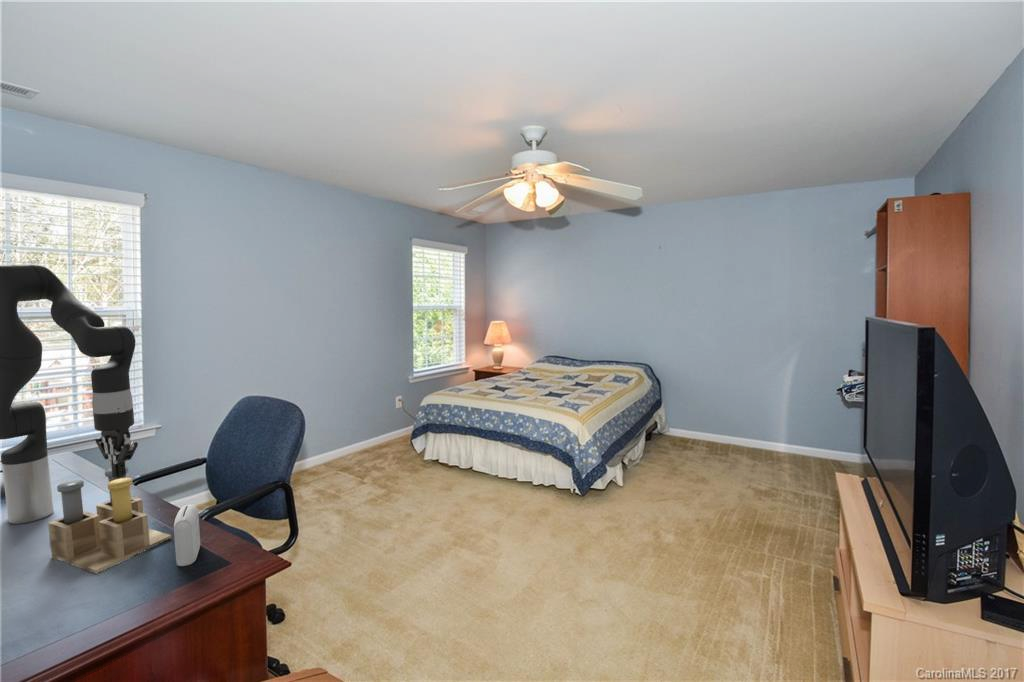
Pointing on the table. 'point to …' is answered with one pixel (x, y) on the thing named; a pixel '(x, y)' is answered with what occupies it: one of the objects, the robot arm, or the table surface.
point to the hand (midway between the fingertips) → (119, 476)
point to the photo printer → (187, 535)
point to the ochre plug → (121, 499)
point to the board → (103, 537)
